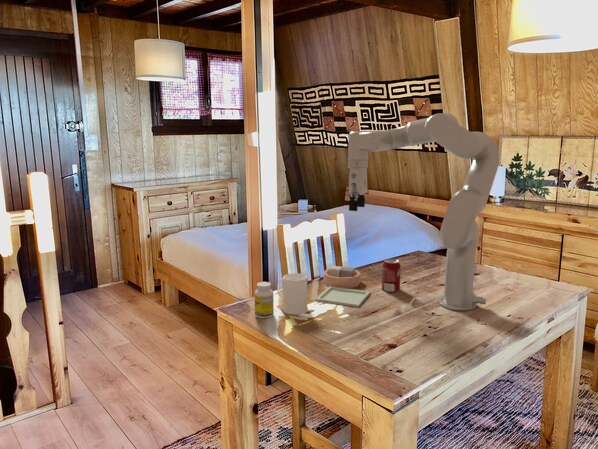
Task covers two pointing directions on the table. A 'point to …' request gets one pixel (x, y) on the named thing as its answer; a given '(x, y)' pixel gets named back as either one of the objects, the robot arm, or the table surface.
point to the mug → (294, 293)
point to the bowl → (341, 280)
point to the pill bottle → (264, 300)
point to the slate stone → (347, 272)
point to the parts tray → (343, 296)
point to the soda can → (391, 275)
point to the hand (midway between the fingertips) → (356, 208)
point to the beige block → (335, 271)
